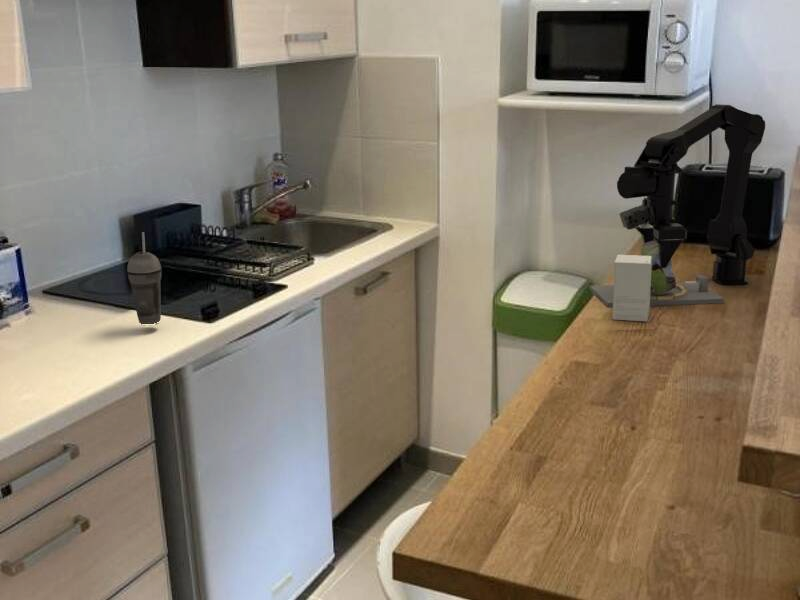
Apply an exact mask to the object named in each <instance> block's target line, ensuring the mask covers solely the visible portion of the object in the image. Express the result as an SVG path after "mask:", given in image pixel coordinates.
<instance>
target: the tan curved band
mask: <svg viewBox="0 0 800 600" xmlns="http://www.w3.org/2000/svg"><path fill="white" fill-rule="evenodd" d="M709 280H710V279H709V277H707V276H705V275H704V274H696V275H695V280H687V281H686V280H684V281H683V282H684V287H683V286H681V285H678V284H676V287H675V288H674V289H678V290H679V291H681V293H678V294H674V295H666V296H654V295H650V300H675V299H679V298H683V297H685V296H686V295H687V292H708V289H709V283H710V282H709ZM613 290H614V286H613Z"/></svg>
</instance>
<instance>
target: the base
mask: <svg viewBox="0 0 800 600" xmlns="http://www.w3.org/2000/svg"><path fill="white" fill-rule="evenodd" d="M676 284H678V285H681V286H683V287H684V281H682V282H676ZM613 286H614V284H601V285H598V284H597V285H589V291H590V292H591V293H592V294H593V295H594V296H595V297H597V299H598V300H599V301H600V302H601V303H603V305H605V307H607V308H613ZM678 293H681V291H679V290H678V289H673V291H671V292H669V293H665V294H654V293H652V292H650V295H654V296H666V295H674V294H678ZM706 304H724V297H722V296H721V295H719V294H717V293H715V292H714V291H712V290H711V289H709V288H708V292H687V295H686V296H685V297H683V298H679V299H675V300H650V307H652V306H653V307H654V306H677V305H682V306H683V305H706Z"/></svg>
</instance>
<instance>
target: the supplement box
mask: <svg viewBox="0 0 800 600" xmlns="http://www.w3.org/2000/svg"><path fill="white" fill-rule="evenodd" d="M613 266H614V267H613V285H614V290H613V307H612V320H615V321H617V320H618V321H629V322H630V321H632V322H647V323H648V320H649V317H650V316H649V315H650V307H651V306H650V289H651V268H652V256H641V255H639V254H638V255H637V254H635V255H634V254H631V255H630V254H617V256H616V258H615V260H614V262H613Z"/></svg>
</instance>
